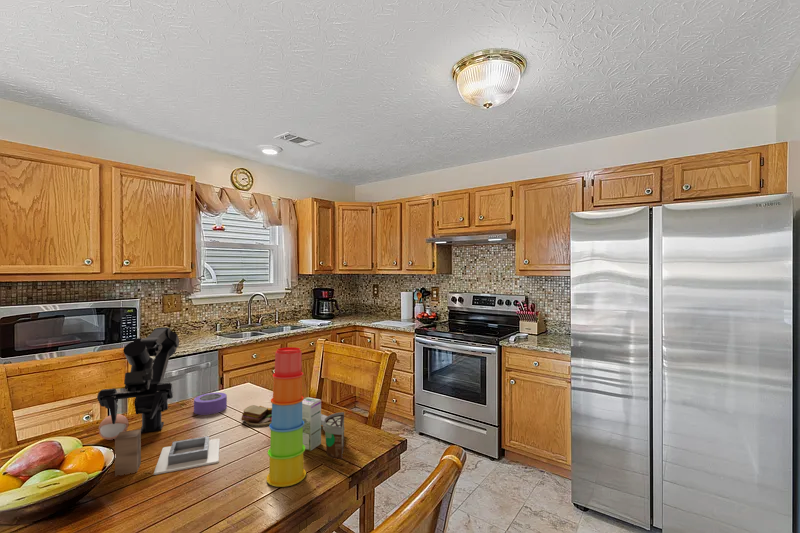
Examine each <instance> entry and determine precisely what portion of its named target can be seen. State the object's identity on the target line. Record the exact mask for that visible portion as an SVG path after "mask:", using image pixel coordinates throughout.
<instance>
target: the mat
mask: <svg viewBox="0 0 800 533" xmlns="http://www.w3.org/2000/svg"><path fill="white" fill-rule="evenodd" d="M220 440H221V438H212V439H209V450H208V458H207V459H201V460H196V461H190V462H185V463H179V464H174V465H168V455H169V452H170V449H171V446H172V445H171V446H165V447H162V449H161V452H160V455H159V458H158V460H157V462H156V466H155V468H154V472H153V476H154V475H160V474H165V473H171V472H177V471H183V470H187V469H193V468H197V467H204V466H208V465H214V464H219V463H220V462H219V460H220V442H221V441H220ZM201 449H204V446H201V447H195V448H189V449H183V450H178V451H176V453H175V454H178V453H184V452H190V451H195V450H201Z"/></svg>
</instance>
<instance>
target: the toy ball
mask: <svg viewBox="0 0 800 533" xmlns="http://www.w3.org/2000/svg"><path fill="white" fill-rule="evenodd" d="M128 428H129V420H128V418H127V417H126V416H125V415H124V414H120V413H117V416H116V422H115V424H113V423H112V418H111V414H110V415H108V416H106V417H105V418H103V420H102V421H100V423H99V426H98V434H99V436H100V437H101V438H102V439H103V440H104V439H105V440H108V441H113V439H114V440H115V439H116V437H117V436H118V434H119V433H120V432H125V431H128Z"/></svg>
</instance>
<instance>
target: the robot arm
mask: <svg viewBox="0 0 800 533" xmlns="http://www.w3.org/2000/svg"><path fill="white" fill-rule="evenodd" d="M179 345H180V338H179V336H178V334H177V333H175V332H174V331H172V330H171V328H170V327H165V326H164V327H155V328H154V329H153V331H152V332H151V333H150V334H149V335H148V336H147V337H144V338H142V337H141V338H140V337H139V338H138V337H137V338H133V341H131V342H128V343H127V344H126V345H125V346H124V348H123V355H124V356H125V358H126V360H127V362H128V364H129V365H130V366H131V367H130V372H125V373H124V381H123V382H124V383H123V385H124V389H125V390H126V391H120V392H117V389H116V387H115V388H106V389H105V388H103V389H101V390H99V392H98V393H97V397H96V399H97V401H98V404H99V406H100V407H103V408H105V409H109V411H110V412H109V413H110V415H111V418H112V423H113V424H115V422H116V416H117V414H118V408H119V407H118V402H119V400H124V399H130V398H131V399H133V398H135V399H134V404H133V405H134V410H135V415H140V414H141V427H140V429H141V434H142V433H143V432H145V433H149V432H157V431H162V429H163V426H164V424H165V423H164V422H165V421H162V413H163V412H165V411H167V410H169V405H168V404H169V403H168V401H169V400H171V399H172V398H174V387H173V384H172V383H171V382H164V378H165V375H166V371H167V368H168V363H169V361H170V357H171V356H173V355H175V353H176V352H177V349H178V347H179ZM152 357H154V359H153V358H152ZM143 434H144V433H143Z"/></svg>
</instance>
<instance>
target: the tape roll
mask: <svg viewBox="0 0 800 533" xmlns="http://www.w3.org/2000/svg"><path fill="white" fill-rule="evenodd" d="M227 396H228V395H227V394H226V392H207V393H203V394H201V395H198V396H196V397H194V399H193V413H194V414H195V415H199V416H205V415H206V416H207V415H209V416H210V415H214V414H218V413H221V412H223V411H225V410H226V409H227V408H228V405H227V403H228V399H227V398H228V397H227Z"/></svg>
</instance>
